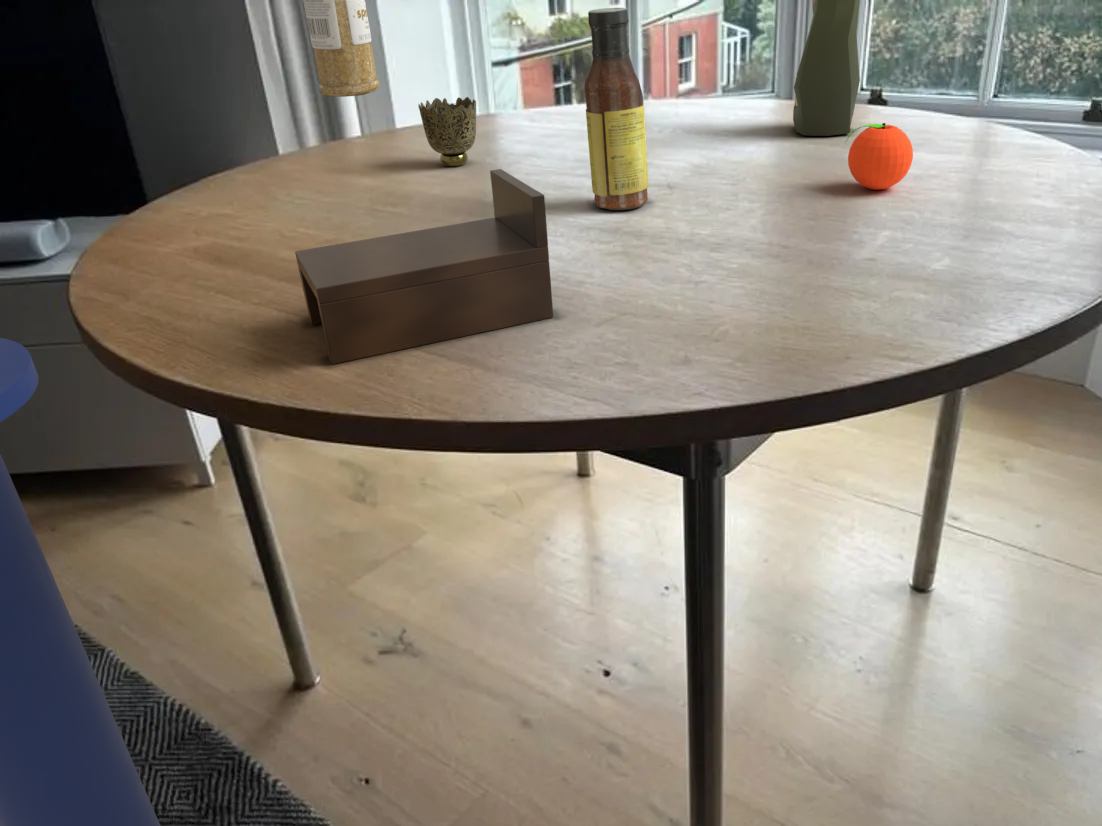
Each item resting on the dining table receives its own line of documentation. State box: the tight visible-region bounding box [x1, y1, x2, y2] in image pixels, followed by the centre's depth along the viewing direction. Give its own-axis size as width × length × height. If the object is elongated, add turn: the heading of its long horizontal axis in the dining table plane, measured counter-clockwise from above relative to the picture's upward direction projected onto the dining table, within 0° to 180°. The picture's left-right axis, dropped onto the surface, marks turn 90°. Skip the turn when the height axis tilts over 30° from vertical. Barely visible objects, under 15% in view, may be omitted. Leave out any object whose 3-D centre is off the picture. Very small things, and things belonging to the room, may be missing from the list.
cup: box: [418, 96, 477, 167], centre depth 122 cm, size 8×7×8 cm
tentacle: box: [792, 0, 861, 137], centre depth 123 cm, size 9×12×30 cm
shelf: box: [294, 168, 554, 365], centre depth 74 cm, size 18×10×10 cm, turn 115°
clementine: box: [844, 122, 914, 191], centre depth 103 cm, size 8×7×7 cm
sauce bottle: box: [584, 7, 649, 211], centre depth 99 cm, size 7×6×20 cm
